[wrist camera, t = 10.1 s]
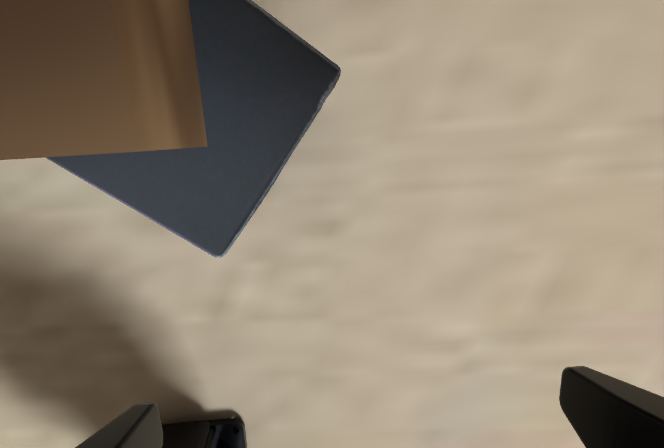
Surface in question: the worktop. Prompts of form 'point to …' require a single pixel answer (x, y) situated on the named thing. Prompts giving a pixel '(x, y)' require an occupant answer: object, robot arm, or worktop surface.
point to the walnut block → (97, 78)
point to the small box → (224, 128)
